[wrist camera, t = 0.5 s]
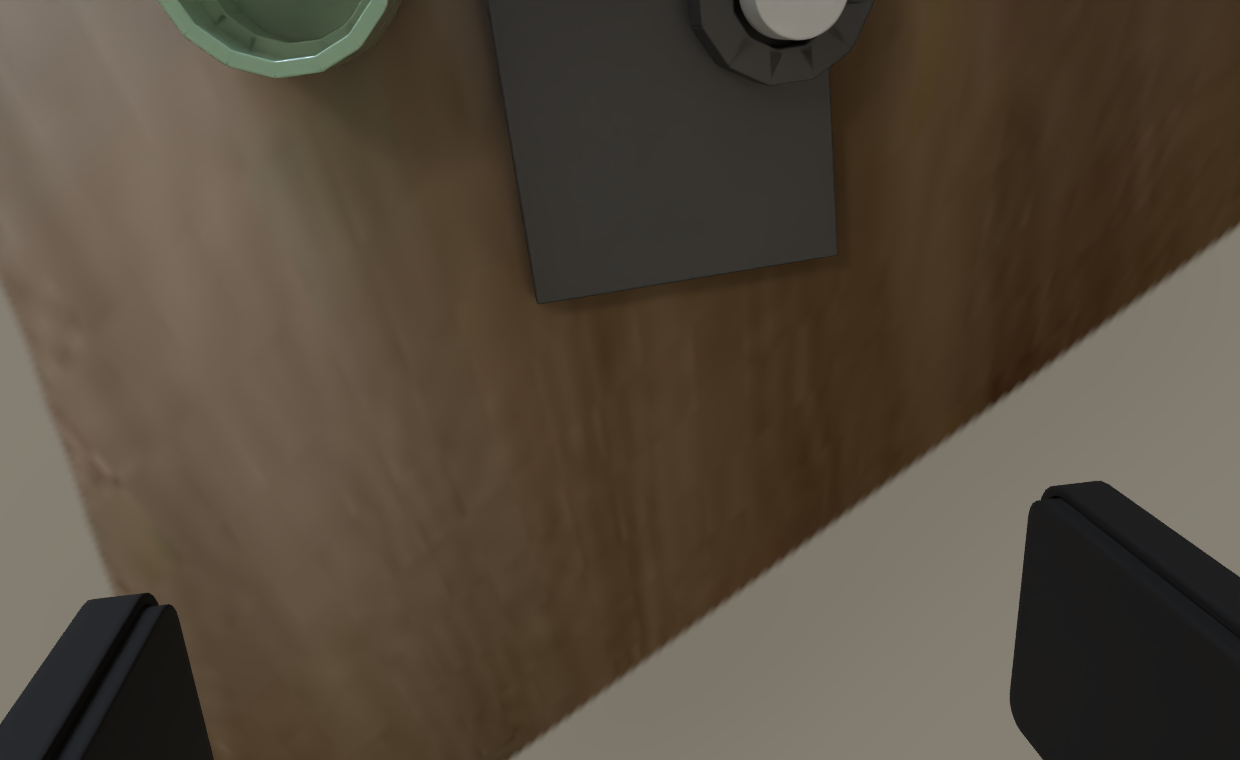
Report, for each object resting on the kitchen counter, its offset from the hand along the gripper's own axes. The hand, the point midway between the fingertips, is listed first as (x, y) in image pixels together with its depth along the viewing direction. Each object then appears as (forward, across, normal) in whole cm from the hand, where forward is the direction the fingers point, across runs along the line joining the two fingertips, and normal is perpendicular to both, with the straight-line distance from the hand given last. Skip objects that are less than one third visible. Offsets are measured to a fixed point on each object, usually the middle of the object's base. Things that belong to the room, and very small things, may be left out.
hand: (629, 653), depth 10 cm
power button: (+25, -9, -7) cm, 28 cm away
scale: (+28, -6, -3) cm, 29 cm away
